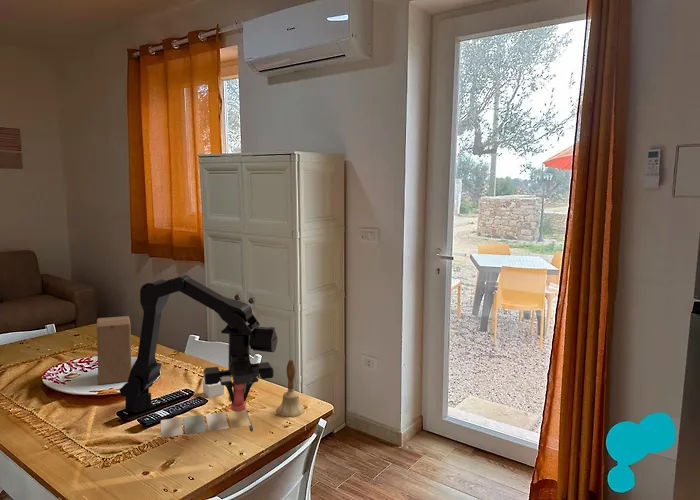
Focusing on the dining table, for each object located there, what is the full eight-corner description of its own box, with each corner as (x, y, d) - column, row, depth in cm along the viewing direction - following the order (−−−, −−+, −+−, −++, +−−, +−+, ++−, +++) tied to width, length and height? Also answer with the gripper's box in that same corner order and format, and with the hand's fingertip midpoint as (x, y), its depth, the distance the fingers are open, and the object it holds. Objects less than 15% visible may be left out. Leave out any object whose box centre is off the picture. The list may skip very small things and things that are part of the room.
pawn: (232, 412, 139) (232, 381, 137) (230, 406, 142) (230, 376, 141) (246, 410, 140) (247, 380, 139) (244, 404, 144) (244, 374, 143)
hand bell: (282, 419, 145) (283, 366, 143) (272, 407, 152) (273, 357, 150) (308, 414, 149) (310, 363, 147) (298, 402, 156) (299, 353, 154)
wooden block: (131, 381, 167) (130, 323, 164) (98, 385, 162) (96, 326, 160) (130, 370, 176) (129, 315, 173) (98, 374, 171) (96, 317, 168)
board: (159, 444, 129) (159, 439, 129) (159, 422, 140) (159, 418, 140) (252, 430, 138) (252, 426, 137) (245, 411, 149) (245, 407, 148)
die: (208, 401, 154) (208, 386, 154) (202, 395, 158) (202, 380, 158) (224, 398, 157) (224, 382, 156) (218, 392, 161) (218, 377, 160)
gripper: (207, 362, 128) (207, 419, 130) (278, 355, 135) (277, 410, 137) (203, 347, 138) (203, 400, 141) (269, 342, 145) (268, 393, 147)
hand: (238, 401), depth 141 cm, fingers closed on pawn, 3 cm apart
